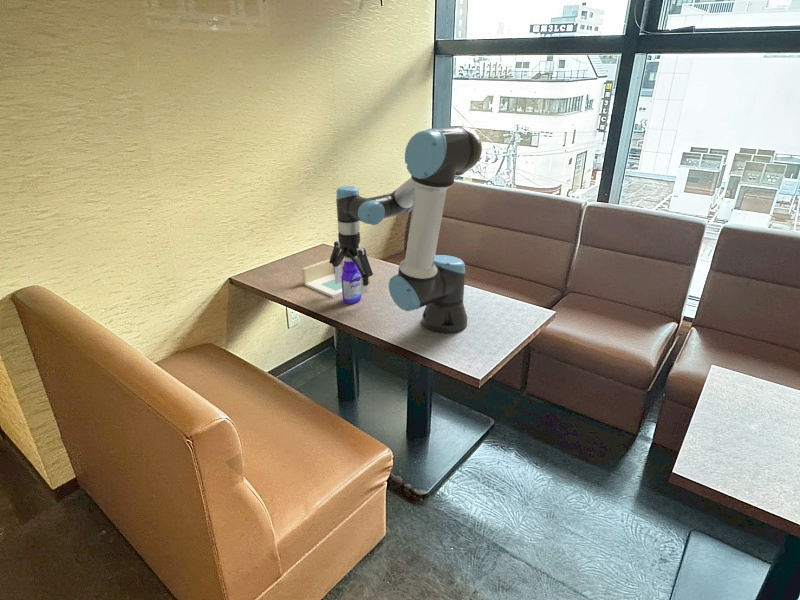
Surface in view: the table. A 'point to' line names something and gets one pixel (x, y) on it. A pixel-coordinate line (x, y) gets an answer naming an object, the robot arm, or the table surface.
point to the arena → (323, 278)
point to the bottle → (350, 281)
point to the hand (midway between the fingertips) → (351, 287)
